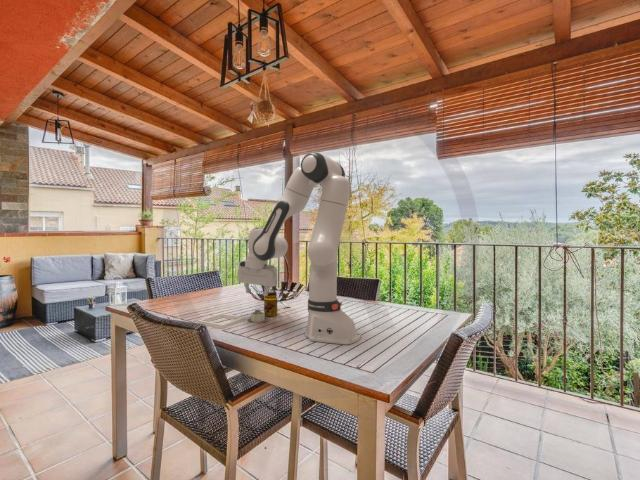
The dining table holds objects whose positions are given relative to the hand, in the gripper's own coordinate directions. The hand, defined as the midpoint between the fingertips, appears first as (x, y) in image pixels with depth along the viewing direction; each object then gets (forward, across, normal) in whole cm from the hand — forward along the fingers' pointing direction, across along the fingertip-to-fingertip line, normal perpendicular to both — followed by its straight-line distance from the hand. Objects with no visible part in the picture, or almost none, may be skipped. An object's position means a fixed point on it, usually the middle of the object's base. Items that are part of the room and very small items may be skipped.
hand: (256, 294), depth 156 cm
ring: (+12, -1, 0) cm, 12 cm away
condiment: (+13, -1, -10) cm, 16 cm away
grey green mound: (+12, -1, 0) cm, 13 cm away
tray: (+13, +10, +11) cm, 20 cm away
